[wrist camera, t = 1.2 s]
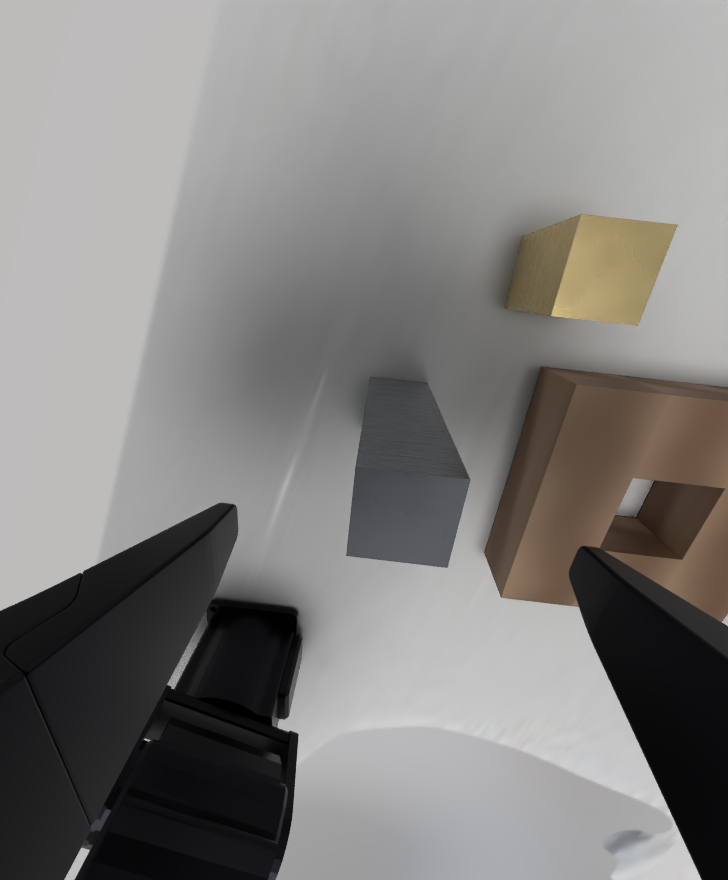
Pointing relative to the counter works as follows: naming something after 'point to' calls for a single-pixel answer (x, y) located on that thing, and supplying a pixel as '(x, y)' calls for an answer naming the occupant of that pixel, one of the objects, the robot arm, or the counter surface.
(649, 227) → the short pin
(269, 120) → the counter surface
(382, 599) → the counter surface
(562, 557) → the socket block
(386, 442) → the long pin
